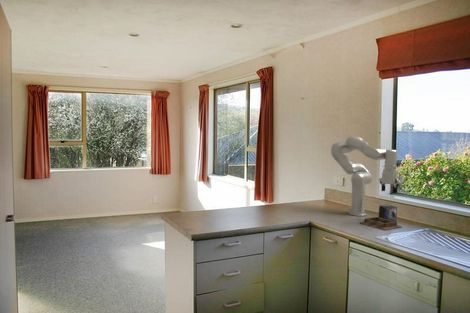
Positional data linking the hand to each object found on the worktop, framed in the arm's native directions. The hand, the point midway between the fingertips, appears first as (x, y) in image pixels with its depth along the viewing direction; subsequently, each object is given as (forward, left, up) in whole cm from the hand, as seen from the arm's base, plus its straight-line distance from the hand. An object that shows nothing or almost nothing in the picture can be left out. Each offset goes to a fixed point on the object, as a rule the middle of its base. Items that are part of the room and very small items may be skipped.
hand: (389, 192), depth 265 cm
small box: (0, 0, -21) cm, 21 cm away
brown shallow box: (+7, -16, -20) cm, 27 cm away
